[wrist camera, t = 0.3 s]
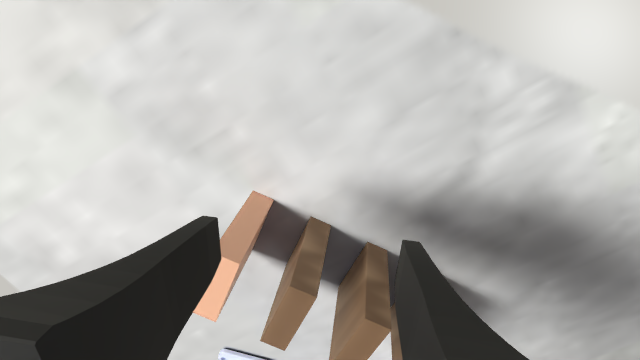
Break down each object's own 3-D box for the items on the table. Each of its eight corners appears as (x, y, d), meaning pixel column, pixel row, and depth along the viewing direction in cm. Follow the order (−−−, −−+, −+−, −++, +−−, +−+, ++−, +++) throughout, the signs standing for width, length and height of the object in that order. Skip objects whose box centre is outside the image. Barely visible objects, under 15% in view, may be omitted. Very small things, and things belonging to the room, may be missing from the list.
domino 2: (330, 225, 25) (316, 297, 18) (305, 272, 27) (284, 350, 21) (310, 216, 25) (289, 285, 18) (286, 264, 27) (260, 340, 21)
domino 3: (387, 250, 25) (391, 329, 19) (356, 294, 27) (351, 379, 21) (367, 241, 25) (365, 318, 19) (338, 287, 27) (327, 369, 21)
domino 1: (273, 199, 24) (239, 264, 18) (252, 249, 27) (215, 322, 20) (253, 190, 24) (211, 252, 18) (233, 241, 27) (190, 311, 20)
